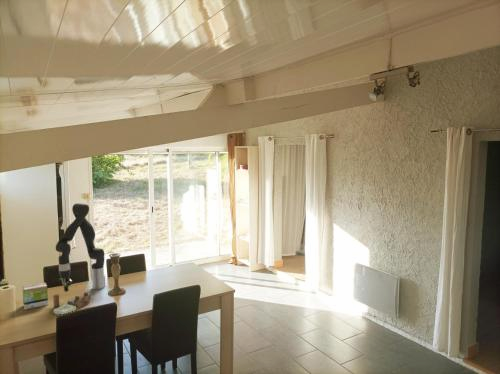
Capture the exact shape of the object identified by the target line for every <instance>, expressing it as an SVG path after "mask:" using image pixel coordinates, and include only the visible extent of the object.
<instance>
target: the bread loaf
mask: <svg viewBox="0 0 500 374" xmlns="http://www.w3.org/2000/svg"><path fill="white" fill-rule="evenodd" d="M52 298H53V299H52V300H53V308H54V309H56V308H58V307H61V305H60V294H53V297H52Z"/></svg>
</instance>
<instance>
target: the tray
mask: <svg viewBox="0 0 500 374" xmlns="http://www.w3.org/2000/svg"><path fill="white" fill-rule="evenodd" d="M71 311H73V312H75V311H77V309H76V306H72V305H68V303H67V304H65V303H64V304H63V305H60V307H58V308H54V309H53V314H54V313H55V315H59V314H64V313H68V312H71ZM71 313H72V312H71Z"/></svg>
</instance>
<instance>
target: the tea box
mask: <svg viewBox="0 0 500 374" xmlns="http://www.w3.org/2000/svg"><path fill="white" fill-rule="evenodd" d="M48 296H49V295H48V285H47V283H46V282H40V283H35V284H30V285H29V284H28V285H23V286H22V304H23V309H24V310H28V309H33V308H38V307H39V308H40V307H43V306H44V305H45V306H48V305H49V302H48V301H49V300H48V299H49V298H48Z"/></svg>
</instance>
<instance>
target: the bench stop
mask: <svg viewBox="0 0 500 374" xmlns="http://www.w3.org/2000/svg"><path fill="white" fill-rule="evenodd" d="M79 296H80V295H76V296H75V297H74V298H75V300H74V306H76V310H78V309H79V308H82V307H84V306H85V305H88V304H90V303H91V295H90V294H89V292H88V291H86V292H83V295H82V296H80V297H79Z"/></svg>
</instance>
